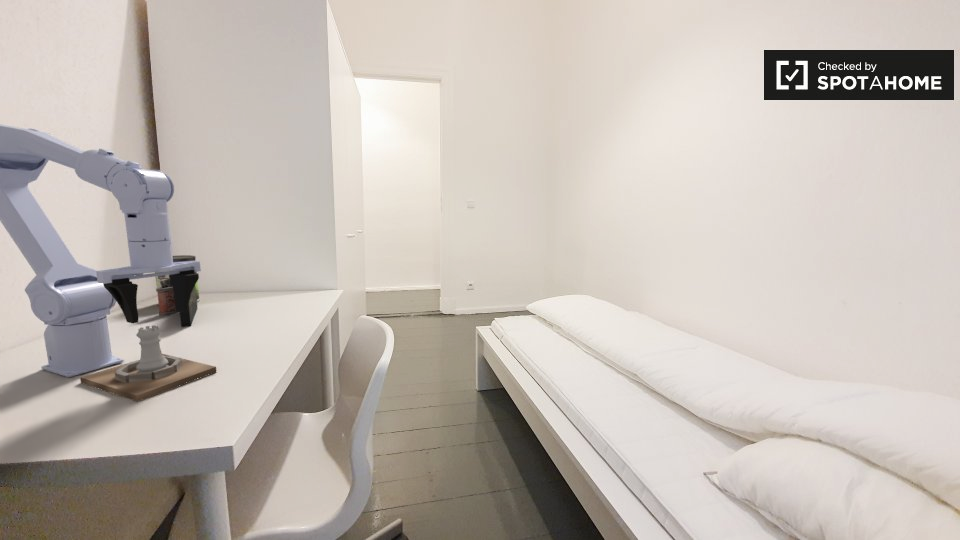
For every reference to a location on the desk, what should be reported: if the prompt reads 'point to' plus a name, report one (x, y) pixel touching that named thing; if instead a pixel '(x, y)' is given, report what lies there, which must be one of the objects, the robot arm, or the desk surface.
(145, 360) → the rook chess piece
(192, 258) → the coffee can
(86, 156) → the robot arm
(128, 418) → the desk surface
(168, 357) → the socket board
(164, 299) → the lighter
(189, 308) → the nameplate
